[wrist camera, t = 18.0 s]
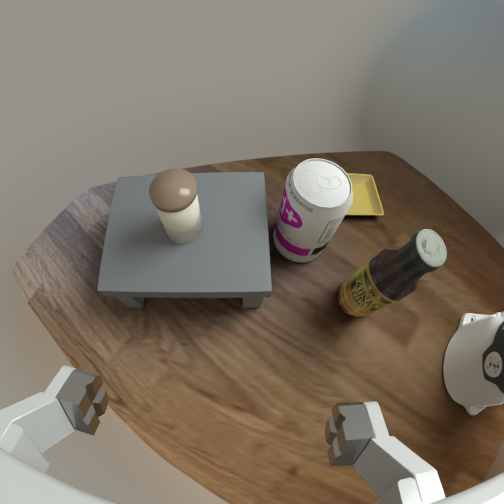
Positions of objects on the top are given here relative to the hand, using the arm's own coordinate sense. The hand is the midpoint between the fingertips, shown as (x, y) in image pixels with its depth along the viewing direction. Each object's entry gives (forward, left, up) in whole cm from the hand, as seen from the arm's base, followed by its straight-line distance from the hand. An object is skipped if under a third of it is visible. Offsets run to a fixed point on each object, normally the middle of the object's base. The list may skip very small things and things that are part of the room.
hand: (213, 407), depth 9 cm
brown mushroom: (+5, -18, -21) cm, 28 cm away
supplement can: (-11, -21, -31) cm, 39 cm away
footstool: (+5, -18, -31) cm, 36 cm away
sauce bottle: (-19, -11, -31) cm, 38 cm away
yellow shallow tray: (-22, -29, -31) cm, 48 cm away
